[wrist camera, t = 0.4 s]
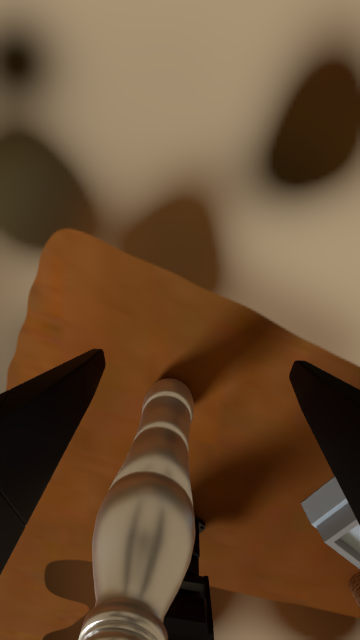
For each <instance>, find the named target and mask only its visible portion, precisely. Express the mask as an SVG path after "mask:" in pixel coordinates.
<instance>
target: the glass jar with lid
mask: <svg viewBox="0 0 360 640" xmlns="http://www.w3.org/2000/svg"><path fill="white" fill-rule="evenodd" d="M349 588H350V590H351V592H352V594H353V596H354V598H355V600H356V602H357V604H358V606H359V607H360V572H359V573H357V574H355V575H354V576H353V577H352V578H351V579H350V581H349Z"/></svg>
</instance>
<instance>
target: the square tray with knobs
mask: <svg viewBox="0 0 360 640" xmlns="http://www.w3.org/2000/svg"><path fill="white" fill-rule="evenodd" d="M301 505H302V507H303V509H304V511H305V513H306V515H307V517H308V519H309V521H310V523H311V524H312V525H313V526H314V527H315V528H317V529H318V531H319V533H320V535H321V536H322V538H323V540H324V542H325V543H326V544H327V545H329V546H330V547H331V548H333V549H334V550H335V551H337V552H338V553H339V554H341V555H342V556H343V557H345V558H346V559H347V560H348V561H350V562H351V563H352V564H354V565H355V566H356V567H358V568H359V569H360V525H359V523H358V521H357V519H356V517H355V515H354V513H353V511H352V509H351V507H350V505H349V503H348V501H347V499H346V497H345V495H344V493H343V491H342V489H341V487H340V485H339V484H338V482H337V480H336V478H335V477H334V478H332V479H331V480H330V481H329V482H327V483H326V484H325V485H324V486H322V487H321V488H320V489H318V490H317V491H316V492H315V493H313V494H312V495H311V496H310V497H308V498H307V499H306V500H305V501H303V502H302V503H301Z"/></svg>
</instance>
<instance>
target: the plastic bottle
mask: <svg viewBox="0 0 360 640" xmlns="http://www.w3.org/2000/svg"><path fill="white" fill-rule="evenodd" d="M193 412H194V402H193V398H192V395H191V392H190V390H189V388H188V387H187V386H186V385H185V384H184V383H183V382H181V381H179V380H176V379H172V378H167V379H162V380H160V381H158V382H156V383H155V384H154V385H153V386H152V387H151V388H150V390H149V391H148V392H147V394H146V396H145V399H144V403H143V408H142V417H141V421H140V424H139V428H138V432H137V434H136V437H135V439H134V442H133V444H132V446H131V448H130V450H129V453H128V455H127V457H126V459H125V461H124V463H123V465H122V467H121V469H120V470H119V472H118V474H117V476H116V478H115V480H114V481H113V483H112V485H111V487H110V489H109V490H108V492H107V494H106V496H105V498H104V500H103V503H102V505H101V507H100V509H99V511H98V514H97V518H96V523H95V528H94V534H93V539H92V549H93V575H94V585H95V595H96V605H95V608H93V609H92V610H91V611H90V612H89V613H88V614H87V616H86V618H85V620H84V623H83V626H82V629H81V633H80V636H79V640H168V635H167V631H166V628H165V626H164V624H163V620H164V616H165V614H166V613H167V611H168V609H169V607H170V605H171V603H172V601H173V600H174V598H175V596H176V594H177V592H178V590H179V588H180V586H181V583H182V581H183V579H184V576H185V574H186V572H187V569H188V567H189V564H190V562H191V557H192V552H193V547H194V542H195V534H196V532H195V516H194V508H193V501H192V492H191V484H190V476H189V456H188V440H189V432H190V425H191V421H192V418H193Z"/></svg>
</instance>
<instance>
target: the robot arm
mask: <svg viewBox="0 0 360 640" xmlns="http://www.w3.org/2000/svg"><path fill="white" fill-rule="evenodd" d="M104 369H105V358H104V352H103V350H102V349H92V350H90V351H88V352H86V353H84V354H82V355H80V356H77V357H75V358H73V359H71V360H69V361H67V362H65V363H63V364H61V365H59V366H57V367H55V368H53V369H51V370H49V371H47V372H45V373H43V374H41V375H38V376H36V377H34V378H32V379H30V380H28V381H26V382H24V383H22V384H20V385H18V386H16V387H14V388H12V389H11V390H8V391H6V392H4V393H1V394H0V574H1V572H2V571H3V569H4V567H5V565H6V563H7V561H8V559H9V557H10V555H11V553H12V551H13V550H14V548H15V546H16V544H17V542H18V540H19V538H20V536H21V534H22V532H23V531H24V529H25V525H26V524H27V523H28V521H29V519H30V517H31V515H32V513H33V511H34V509H35V507H36V505H37V503H38V502H39V500H40V498H41V496H42V494H43V492H44V490H45V488H46V486H47V484H48V483H49V481H50V479H51V477H52V475H53V473H54V471H55V469H56V467H57V465H58V463H59V462H60V460H61V458H62V456H63V454H64V452H65V450H66V448H67V446H68V444H69V442H70V441H71V439H72V437H73V435H74V433H75V431H76V429H77V427H78V425H79V423H80V422H81V420H82V418H83V416H84V414H85V412H86V410H87V408H88V406H89V404H90V402H91V401H92V398H93V396H94V394H95V392H96V389H97V387H98V384H99V382H100V379H101V377H102V374H103V371H104ZM289 378H290V381H291V384H292V386H293V389H294V392H295V394H296V397H297V399H298V402H299V405H300V407H301V410H302V412H303V414H304V416H305V418H306V420H307V422H308V424H309V426H310V428H311V430H312V432H313V434H314V436H315V438H316V440H317V442H318V444H319V446H320V448H321V450H322V452H323V454H324V456H325V458H326V460H327V462H328V464H329V466H330V468H331V470H332V472H333V474H334V476H335V478H336V480H337V482H338V484H339V485H340V487H341V489H342V491H343V493H344V495H345V497H346V499H347V501H348V503H349V505H350V507H351V509H352V511H353V513H354V515H355V517H356V519H357V521H358V523H359V525H360V390H359V389H357V388H355V387H353V386H352V385H350V384H348V383H346V382H344V381H342V380H340V379H338V378H337V377H335V376H333V375H331V374H329V373H327V372H325V371H323V370H322V369H320V368H318V367H316V366H314V365H312V364H310V363H308V362H306V361H298V360H297V361H295V362H294V363H293V366H292V369H291V372H290V375H289ZM204 529H205V523H204V522H202V521H201V520H200V519H198V518H197V517H195V532H196V534H195V542H194V547H193V552H192V557H191V562H190V564H189V567H188V569H187V572H186V574H185V576H184V579H183V581H182V583H181V586H180V588H179V590H178V592H177V594H176V596H175V598H174V600H173V601H172V603H171V605H170V607H169V609H168V611H167V613H166V614H165V616H164V620H163V624H164V626H165V628H166V631H167V635H168V640H214V633H213V620H212V609H211V600H210V590H209V579H208V576H204V577H202V576H199V559H198V558H199V557H200V551H199V534H200V533H201V532H202V531H203V530H204Z"/></svg>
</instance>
